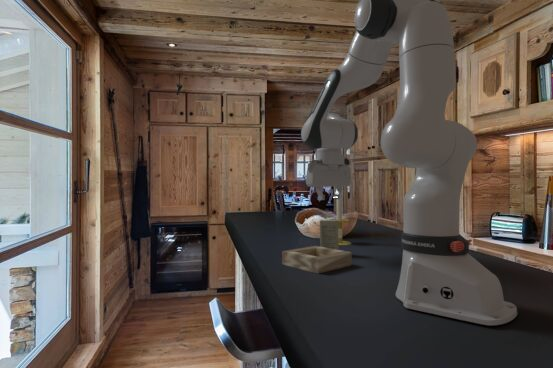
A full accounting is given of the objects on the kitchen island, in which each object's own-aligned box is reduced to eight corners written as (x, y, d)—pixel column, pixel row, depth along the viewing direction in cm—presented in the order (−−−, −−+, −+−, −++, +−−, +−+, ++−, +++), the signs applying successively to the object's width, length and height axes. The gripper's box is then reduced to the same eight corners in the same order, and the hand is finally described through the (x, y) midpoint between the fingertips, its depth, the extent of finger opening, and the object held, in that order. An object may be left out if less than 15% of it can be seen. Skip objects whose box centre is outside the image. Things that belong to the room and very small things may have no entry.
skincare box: (339, 253, 125) (339, 219, 125) (338, 256, 121) (338, 220, 121) (320, 253, 126) (320, 219, 126) (319, 255, 122) (319, 220, 122)
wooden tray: (351, 265, 107) (351, 252, 107) (317, 273, 97) (317, 259, 97) (315, 257, 119) (315, 245, 119) (282, 264, 109) (282, 251, 109)
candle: (323, 242, 149) (323, 178, 149) (344, 241, 152) (344, 178, 152) (333, 246, 140) (333, 178, 140) (356, 245, 143) (356, 178, 143)
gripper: (315, 158, 115) (315, 200, 115) (353, 161, 128) (354, 199, 128) (301, 159, 119) (301, 200, 119) (340, 161, 133) (340, 198, 133)
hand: (329, 199), depth 124 cm, fingers open, 7 cm apart
